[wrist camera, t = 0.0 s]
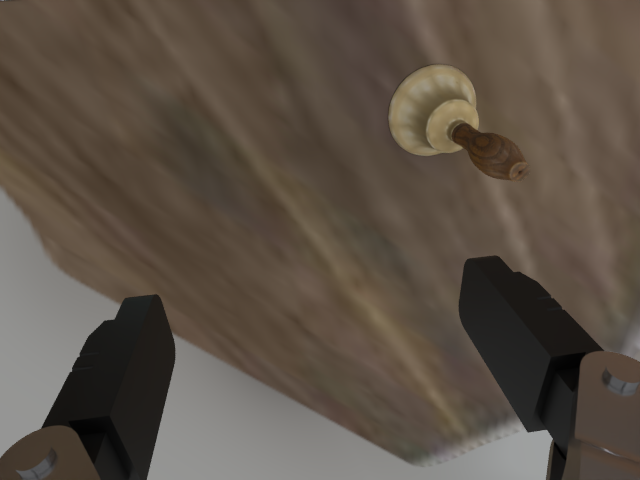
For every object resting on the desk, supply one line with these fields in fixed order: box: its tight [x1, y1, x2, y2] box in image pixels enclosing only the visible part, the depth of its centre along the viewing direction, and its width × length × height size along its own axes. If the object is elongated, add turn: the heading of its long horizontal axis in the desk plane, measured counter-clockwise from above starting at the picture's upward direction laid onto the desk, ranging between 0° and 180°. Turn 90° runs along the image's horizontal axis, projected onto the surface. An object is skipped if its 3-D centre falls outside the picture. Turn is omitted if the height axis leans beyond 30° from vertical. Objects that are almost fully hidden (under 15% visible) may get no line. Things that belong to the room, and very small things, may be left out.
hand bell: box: [388, 64, 530, 182], centre depth 32 cm, size 8×8×16 cm
